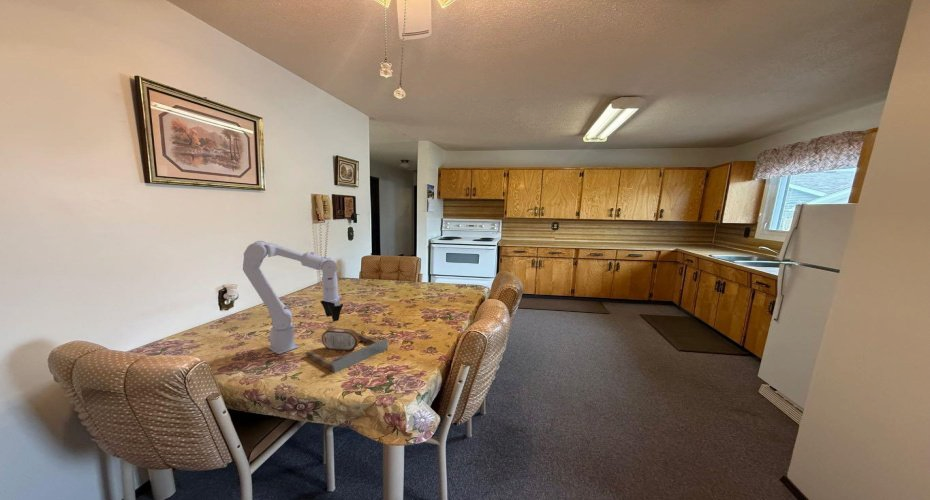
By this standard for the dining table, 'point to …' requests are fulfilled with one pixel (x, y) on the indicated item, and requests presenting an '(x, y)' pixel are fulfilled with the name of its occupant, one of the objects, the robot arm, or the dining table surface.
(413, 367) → the dining table surface
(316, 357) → the grey u-shaped bracket
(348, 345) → the tin
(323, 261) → the robot arm
